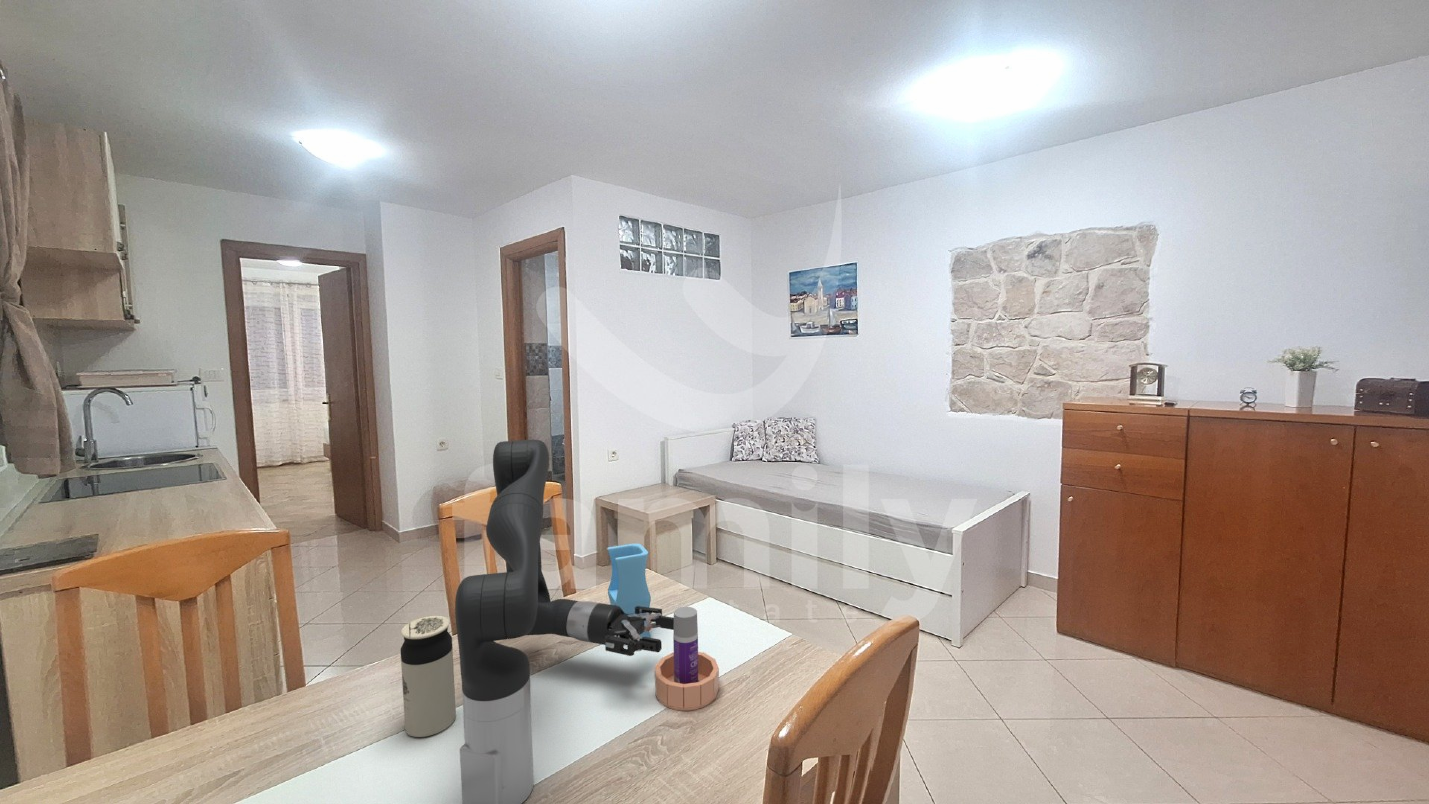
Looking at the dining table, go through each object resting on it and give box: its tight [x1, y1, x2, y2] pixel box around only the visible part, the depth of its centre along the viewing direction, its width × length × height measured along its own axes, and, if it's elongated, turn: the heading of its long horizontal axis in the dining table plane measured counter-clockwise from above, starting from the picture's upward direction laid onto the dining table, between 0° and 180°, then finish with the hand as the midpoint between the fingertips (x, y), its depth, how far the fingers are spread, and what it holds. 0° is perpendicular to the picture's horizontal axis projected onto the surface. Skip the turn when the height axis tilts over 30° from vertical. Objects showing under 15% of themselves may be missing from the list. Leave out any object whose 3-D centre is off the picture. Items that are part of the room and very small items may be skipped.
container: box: [672, 606, 699, 684], centre depth 105 cm, size 5×5×15 cm
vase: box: [607, 542, 652, 639], centre depth 126 cm, size 8×8×20 cm
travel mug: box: [400, 615, 457, 738], centre depth 96 cm, size 8×8×18 cm
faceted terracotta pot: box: [654, 651, 720, 712], centre depth 106 cm, size 12×12×5 cm
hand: (669, 634), depth 106 cm, fingers open, 8 cm apart
